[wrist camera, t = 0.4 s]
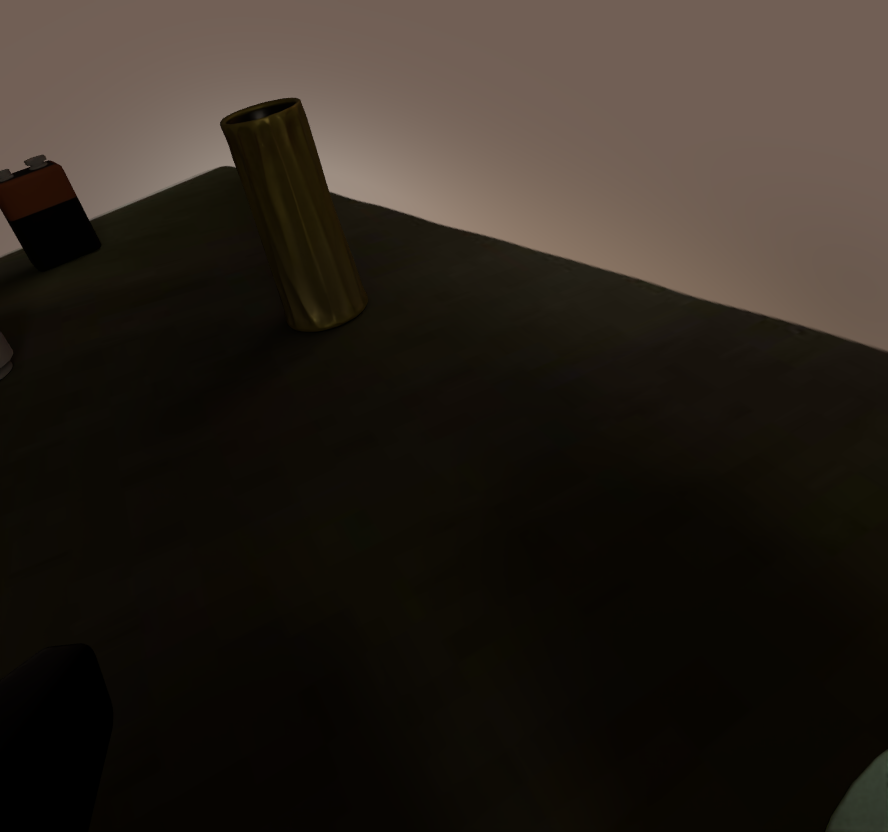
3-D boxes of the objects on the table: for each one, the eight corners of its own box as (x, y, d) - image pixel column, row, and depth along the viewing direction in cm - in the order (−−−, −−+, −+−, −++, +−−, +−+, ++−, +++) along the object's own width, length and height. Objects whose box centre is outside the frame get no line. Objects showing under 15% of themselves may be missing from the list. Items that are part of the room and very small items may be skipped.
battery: (103, 247, 80) (56, 154, 75) (40, 274, 77) (-14, 179, 72) (93, 240, 83) (47, 150, 78) (32, 265, 81) (-20, 173, 75)
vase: (385, 298, 55) (326, 93, 47) (326, 340, 51) (251, 127, 43) (330, 287, 58) (266, 96, 50) (271, 325, 55) (192, 127, 47)
